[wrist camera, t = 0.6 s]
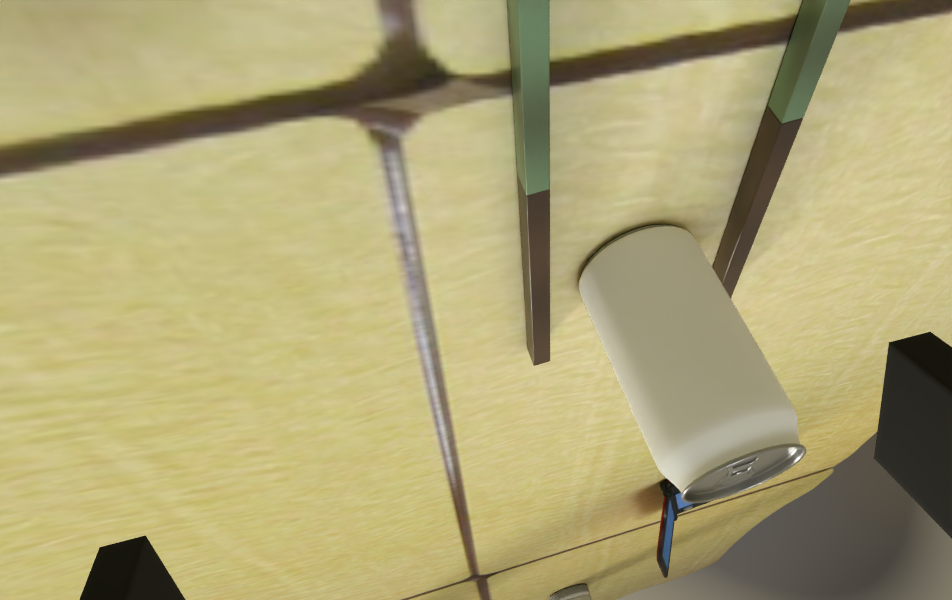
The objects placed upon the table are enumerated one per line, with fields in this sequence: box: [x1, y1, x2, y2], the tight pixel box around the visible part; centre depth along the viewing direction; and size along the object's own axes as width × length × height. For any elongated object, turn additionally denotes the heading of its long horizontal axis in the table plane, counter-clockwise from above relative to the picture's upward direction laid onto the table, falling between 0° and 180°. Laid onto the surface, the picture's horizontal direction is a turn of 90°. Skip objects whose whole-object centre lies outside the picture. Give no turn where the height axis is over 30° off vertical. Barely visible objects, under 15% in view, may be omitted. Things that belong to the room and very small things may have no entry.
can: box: [579, 224, 806, 503], centre depth 34 cm, size 6×6×12 cm
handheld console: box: [657, 480, 710, 578], centre depth 77 cm, size 12×11×7 cm
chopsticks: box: [507, 0, 850, 366], centre depth 31 cm, size 24×12×1 cm, turn 5°
